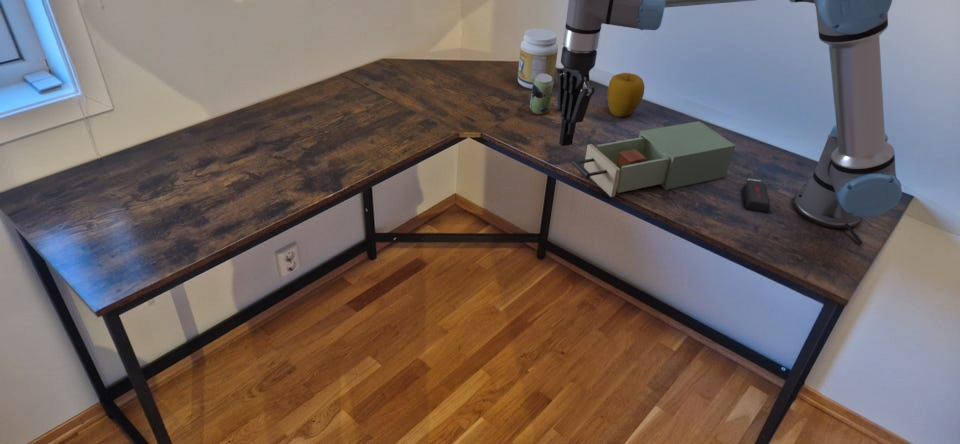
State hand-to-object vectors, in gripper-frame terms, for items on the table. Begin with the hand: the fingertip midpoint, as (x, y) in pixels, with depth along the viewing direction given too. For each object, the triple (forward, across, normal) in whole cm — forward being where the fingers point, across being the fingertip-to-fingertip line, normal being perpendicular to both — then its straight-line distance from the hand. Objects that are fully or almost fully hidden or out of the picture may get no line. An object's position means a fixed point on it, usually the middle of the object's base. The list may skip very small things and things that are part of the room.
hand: (565, 143), depth 155 cm
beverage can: (+14, +43, -17) cm, 48 cm away
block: (+12, 0, -21) cm, 24 cm away
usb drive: (+14, -18, -47) cm, 52 cm away
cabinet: (+14, 0, -37) cm, 40 cm away
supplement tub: (+14, +63, -26) cm, 70 cm away
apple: (+14, +34, -41) cm, 55 cm away
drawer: (+13, 0, -17) cm, 22 cm away
